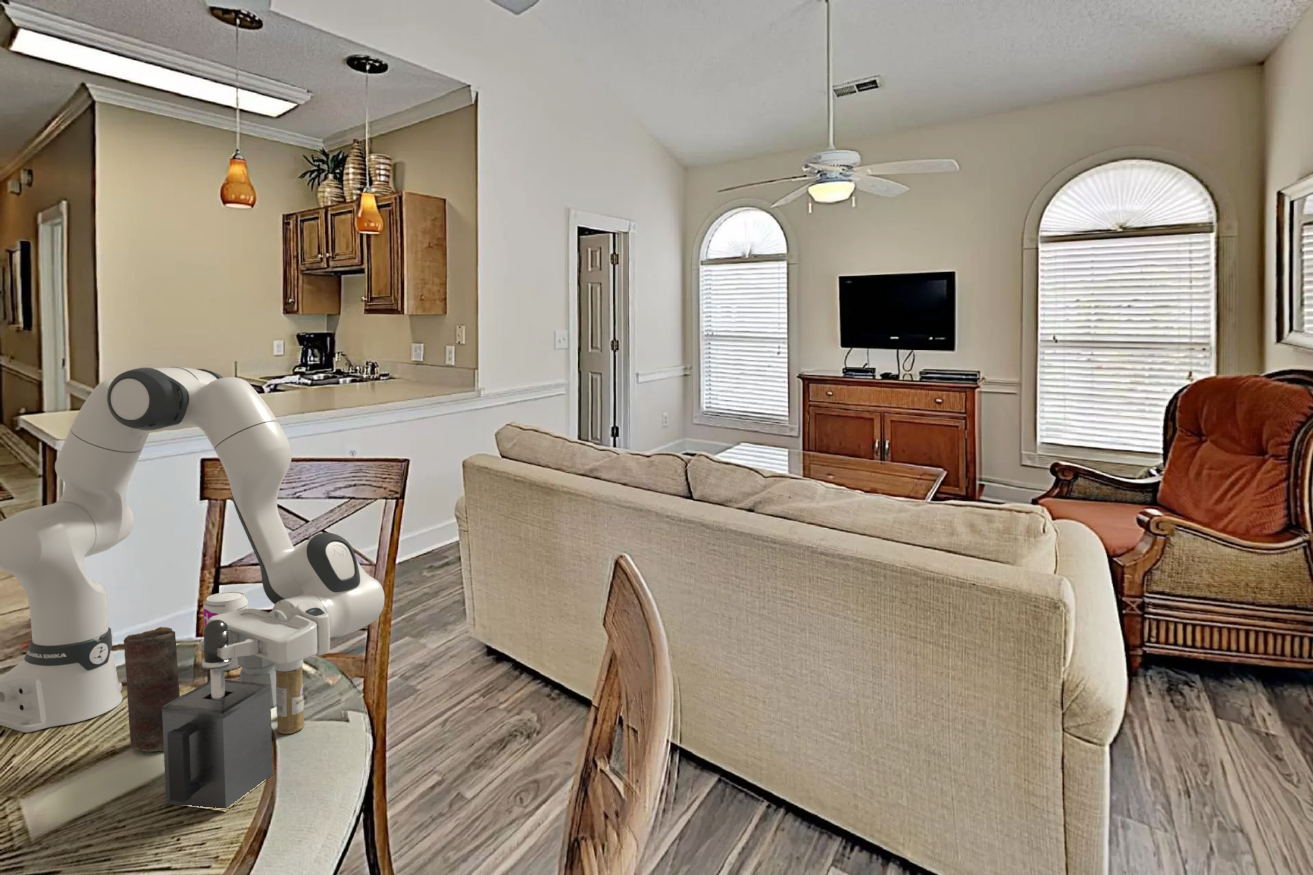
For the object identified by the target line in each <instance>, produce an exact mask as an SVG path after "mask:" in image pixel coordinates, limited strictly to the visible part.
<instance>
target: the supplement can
mask: <svg viewBox="0 0 1313 875" xmlns="http://www.w3.org/2000/svg"><path fill="white" fill-rule="evenodd" d="M202 608H203V610H202V612H203V629H204V628H205V626H206V625H207V621H208V619H209V618H211V617H213V616H215V615H219V614H224V613H228V612H232V611H237V610H242V609H249V600H248V599H247V598H246V596H245V593H243V592H241V591H223V592H219V593H215V594H210V595H209V596H207V597H206V600H205V602H204V603H203V607H202ZM238 668H242V666H240V665H239V664H238V659H237V657H232V663H231V664H230V665H228V666H226V667H224V672H227V671H231V670H234V669H238Z"/></svg>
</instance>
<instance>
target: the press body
mask: <svg viewBox="0 0 1313 875" xmlns="http://www.w3.org/2000/svg"><path fill="white" fill-rule="evenodd" d="M162 718H163V743H164V751H163V758H164V759H163V765H164V788H165V789H164V790H165V792H164V793H165V804H166V805H170V804H173V805H172V806H177V805H192V806H199V807H200V806H203V807H213V808H215V807H216V808H227V807H229V806H230V805H231V804H232V803H234V802H235V801H237V800H238V799H240V798H241V797H242V796H243V795H245V794H246V793H247V792H250V790H252V789H253V788H255V787H256V786H257V785H258V784H260V783H261V782H262V781H264V780H265V779H268V778H269V777H270V778H271V777H272V776H274V775H273V742H272V740H273V737H272V708H271V694H270V685H269V684H260V683H251V682H242V681H240V680H233V679H225V698H223V699H221V700H220V701H219V700H211V679H210V680H208V681H207V682H205V683H203V684H201V685H199V686H198V687H195V688H193V689H192V690H189V691H188V692H186V693H185V694H182V695H181V696H180V697H179V698H177V699H175V700H173V701H171V702H170V703H168V704H166V705H164V706H162ZM270 778H269V779H270ZM269 779H268V780H269Z"/></svg>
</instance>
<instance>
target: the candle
mask: <svg viewBox="0 0 1313 875" xmlns="http://www.w3.org/2000/svg"><path fill="white" fill-rule="evenodd" d="M176 640H177V639H176V631H174V630H173V629H172V628H171V627H166V626H163V627H162V626H159V627H156V629H151V630H148V631H144V632H143V631H142V632H141V633H140V632H139V633H135V634H129V635H127V636H125V638H124V639H123V649H124V663H125V664H124V666H125V675H126V676H125V677H126V694H127V696H126V697H127V709H128V727H129V728H128V729H129V741H130V742H129V743H130V747H131V748H133V749H135V750H137V751H144V752H148V753H151V752H164V743H163V718H162V706H164V705H166V704H168V703H170V702H171V701H173V700H175V699H177V698H179V697H181V696H180V695H181V694H180V680H179V667H178V651H177V641H176Z"/></svg>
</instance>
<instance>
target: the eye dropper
mask: <svg viewBox="0 0 1313 875" xmlns="http://www.w3.org/2000/svg"><path fill="white" fill-rule="evenodd" d="M203 639H204V652H203V654H204V658H202V660H200V662H201V668H202V669H204V670H209V671H210V680H211V700H219V701H220V700H221V699H223V698H225V680H226V679H225V671H224V667H226V666H228V665H230V664H231V663H232V658H229V659H226V660H223V659H221V658H219V657H217V648H218V647H219V646H222V645H225V644H228V643H229V636H228V626H227V624H226V623H225V622H224V621H222V620H213V621H210V622H209V623H208V624H207V625H206V626H205V628H204V627H203Z"/></svg>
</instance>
